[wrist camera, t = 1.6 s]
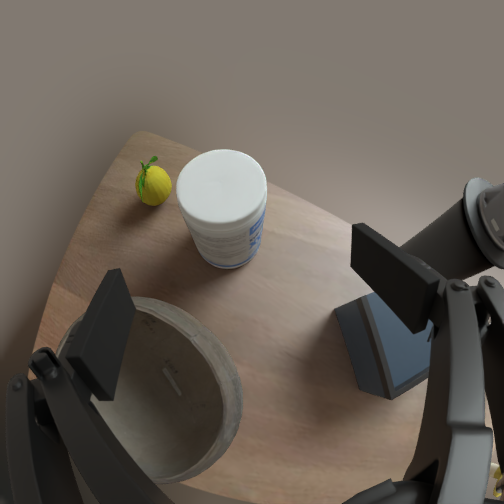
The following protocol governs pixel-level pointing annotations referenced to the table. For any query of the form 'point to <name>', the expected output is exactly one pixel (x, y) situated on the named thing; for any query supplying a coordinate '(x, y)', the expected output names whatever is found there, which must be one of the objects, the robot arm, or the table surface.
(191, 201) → the supplement tub
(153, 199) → the lemon
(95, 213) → the table surface
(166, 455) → the bowl
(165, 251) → the table surface
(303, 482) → the table surface
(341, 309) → the blue storage bin
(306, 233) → the table surface
